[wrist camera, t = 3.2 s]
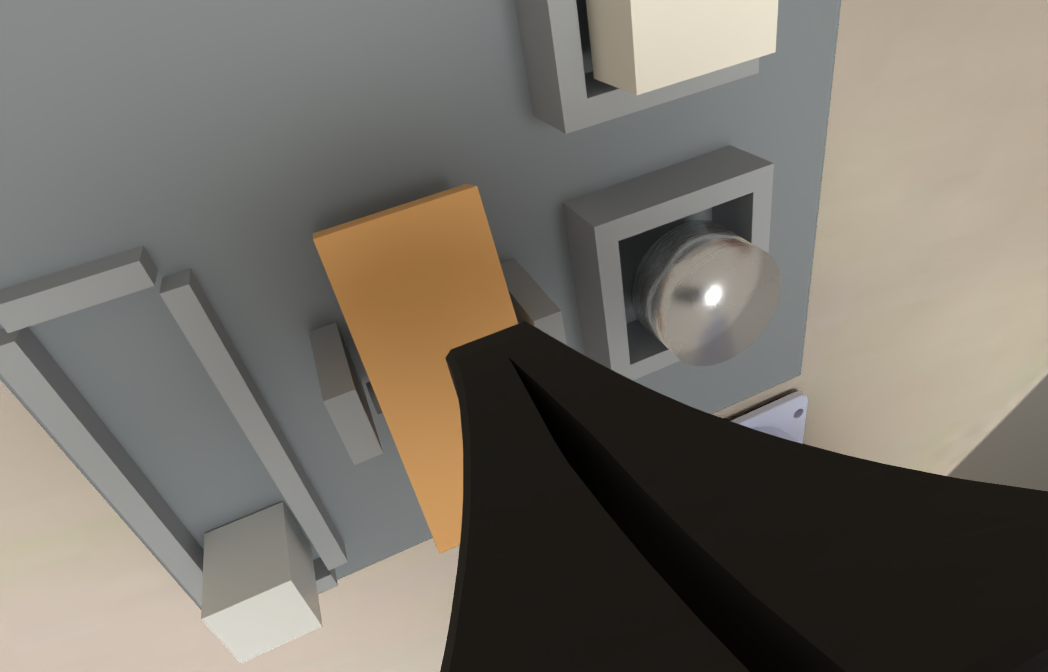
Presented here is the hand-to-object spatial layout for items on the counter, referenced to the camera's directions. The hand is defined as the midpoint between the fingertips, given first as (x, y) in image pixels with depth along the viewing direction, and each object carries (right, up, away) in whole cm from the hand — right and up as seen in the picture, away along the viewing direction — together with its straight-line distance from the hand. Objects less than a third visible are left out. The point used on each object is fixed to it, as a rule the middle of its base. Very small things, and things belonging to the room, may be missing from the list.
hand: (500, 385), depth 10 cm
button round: (+5, +2, +8) cm, 9 cm away
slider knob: (-7, -5, +9) cm, 12 cm away
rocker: (-1, 0, +5) cm, 5 cm away
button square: (+3, +8, +3) cm, 9 cm away
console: (-1, +4, +8) cm, 9 cm away
